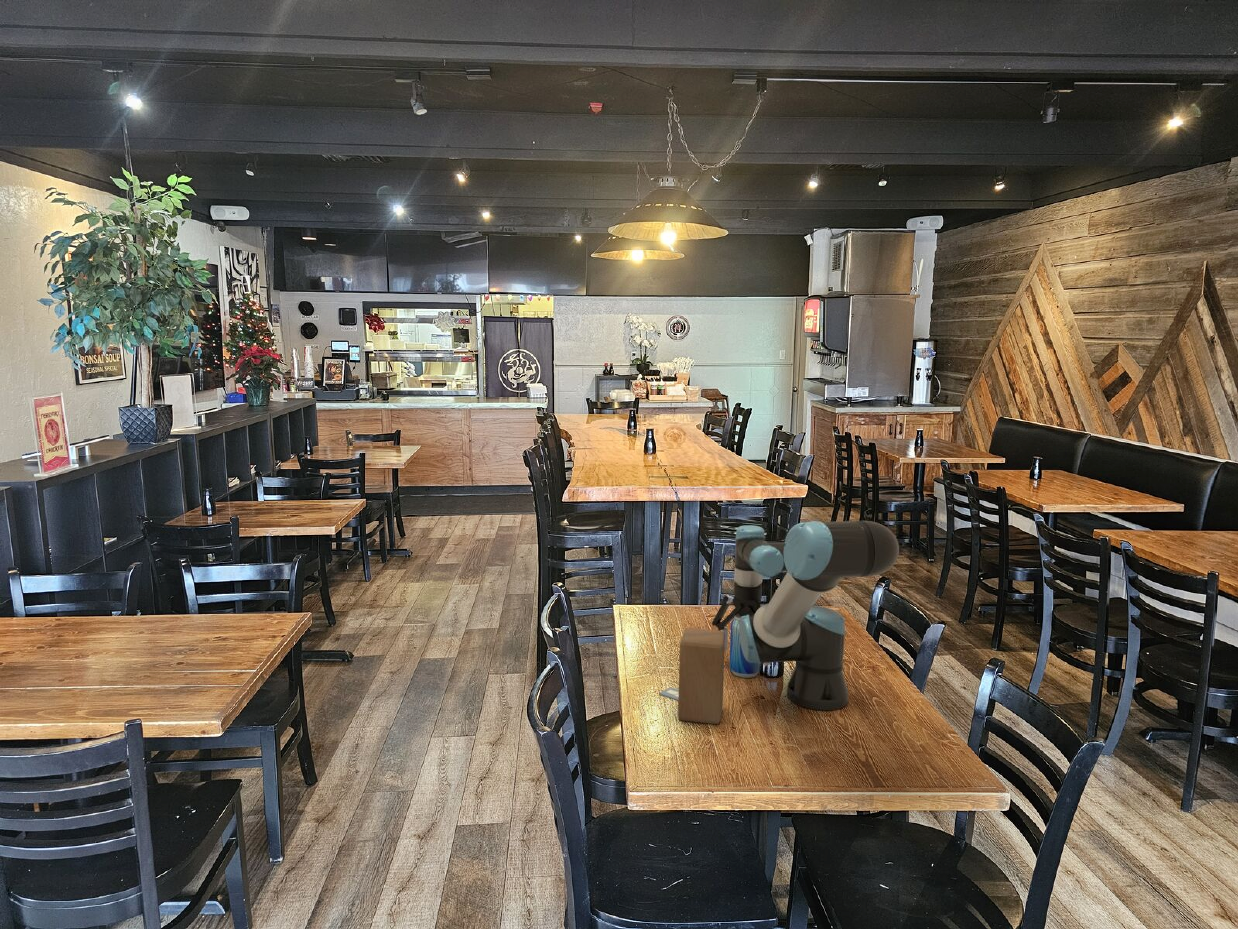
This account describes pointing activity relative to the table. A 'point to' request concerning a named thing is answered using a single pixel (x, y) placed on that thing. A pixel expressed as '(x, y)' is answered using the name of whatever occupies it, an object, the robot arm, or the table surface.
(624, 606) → the table surface
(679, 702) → the block
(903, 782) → the table surface
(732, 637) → the beer can
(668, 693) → the card
